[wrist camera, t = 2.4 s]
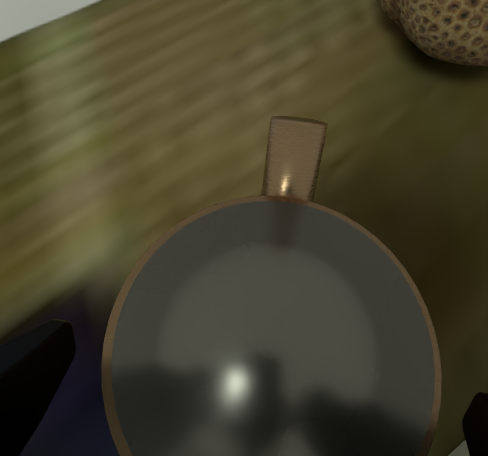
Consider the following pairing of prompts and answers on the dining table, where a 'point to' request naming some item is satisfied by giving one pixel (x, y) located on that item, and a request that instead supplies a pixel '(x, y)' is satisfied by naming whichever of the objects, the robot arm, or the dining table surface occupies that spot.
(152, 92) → the dining table surface
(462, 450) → the tray
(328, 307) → the spout can
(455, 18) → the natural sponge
